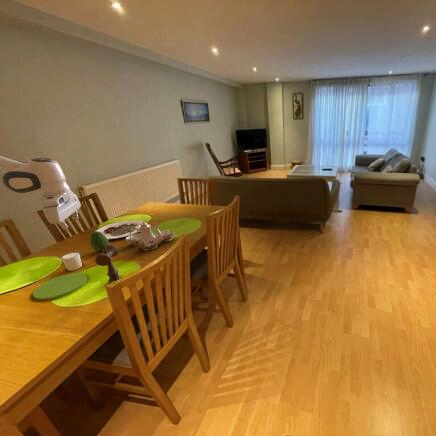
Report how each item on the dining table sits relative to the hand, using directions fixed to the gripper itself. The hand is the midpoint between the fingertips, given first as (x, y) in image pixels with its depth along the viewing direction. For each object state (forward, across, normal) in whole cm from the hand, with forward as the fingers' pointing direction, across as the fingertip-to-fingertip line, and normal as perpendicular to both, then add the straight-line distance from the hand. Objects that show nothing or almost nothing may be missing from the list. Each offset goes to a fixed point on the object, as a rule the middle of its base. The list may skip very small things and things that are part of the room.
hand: (71, 224), depth 110 cm
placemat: (+24, +13, -6) cm, 28 cm away
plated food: (+27, -46, +1) cm, 53 cm away
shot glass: (+25, -3, -8) cm, 26 cm away
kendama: (+24, +16, +16) cm, 33 cm away
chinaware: (+26, -18, +24) cm, 40 cm away
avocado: (+26, -19, -1) cm, 32 cm away
